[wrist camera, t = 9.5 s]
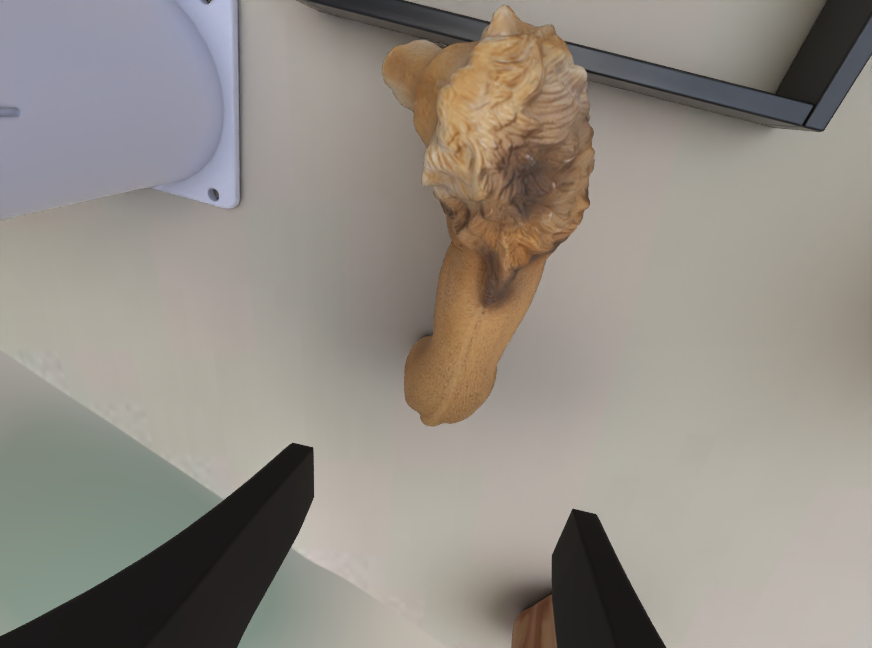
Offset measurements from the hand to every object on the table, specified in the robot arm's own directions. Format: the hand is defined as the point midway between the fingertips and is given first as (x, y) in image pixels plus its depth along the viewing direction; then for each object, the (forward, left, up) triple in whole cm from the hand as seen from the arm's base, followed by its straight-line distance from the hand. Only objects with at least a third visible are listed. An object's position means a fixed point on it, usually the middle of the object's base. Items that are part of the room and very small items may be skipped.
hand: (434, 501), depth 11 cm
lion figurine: (-1, +5, -10) cm, 11 cm away
